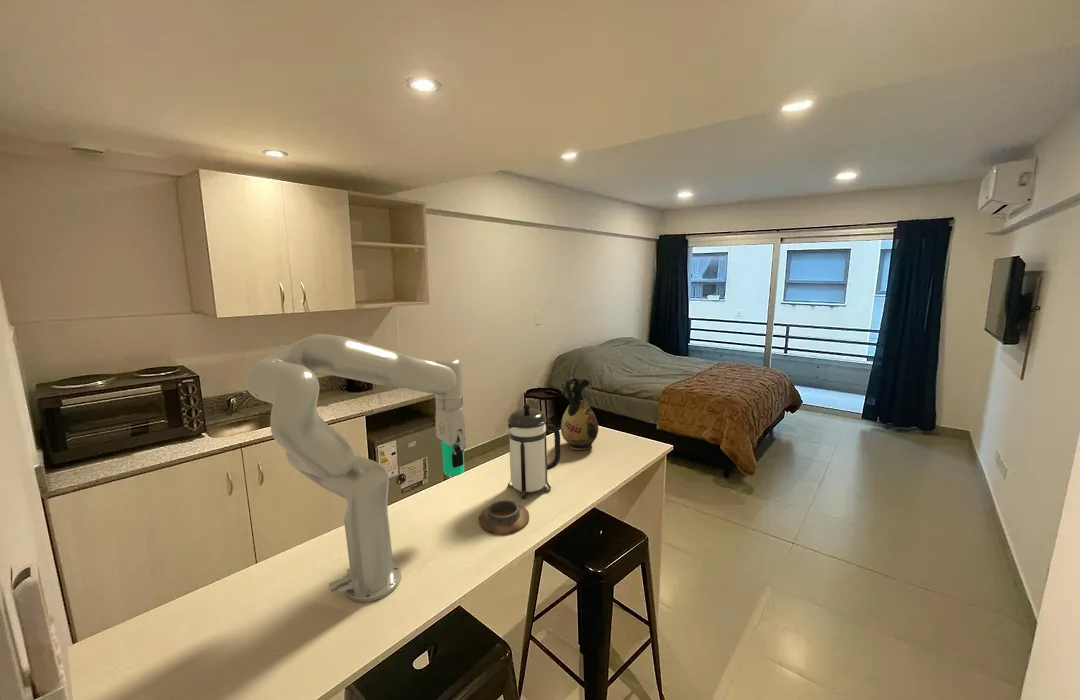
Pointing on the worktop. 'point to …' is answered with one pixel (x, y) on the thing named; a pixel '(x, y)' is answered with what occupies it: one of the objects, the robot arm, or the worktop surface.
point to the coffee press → (530, 450)
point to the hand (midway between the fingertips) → (453, 462)
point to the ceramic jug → (578, 417)
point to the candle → (450, 461)
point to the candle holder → (503, 518)
